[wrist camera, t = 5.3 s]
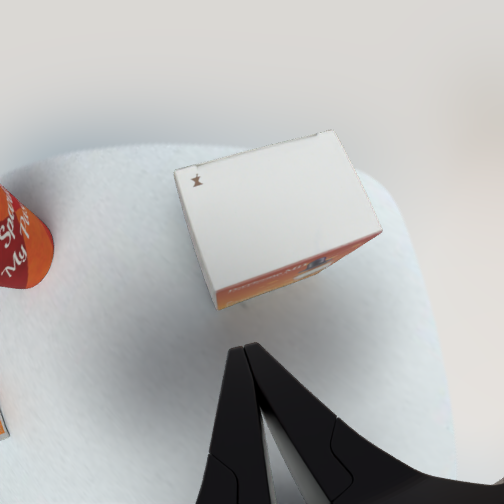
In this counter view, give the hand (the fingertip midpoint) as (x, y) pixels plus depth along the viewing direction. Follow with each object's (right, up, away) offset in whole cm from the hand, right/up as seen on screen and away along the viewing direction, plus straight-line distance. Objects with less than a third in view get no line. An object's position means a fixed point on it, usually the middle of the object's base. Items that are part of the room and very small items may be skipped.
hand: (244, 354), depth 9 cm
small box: (0, +2, +15) cm, 15 cm away
